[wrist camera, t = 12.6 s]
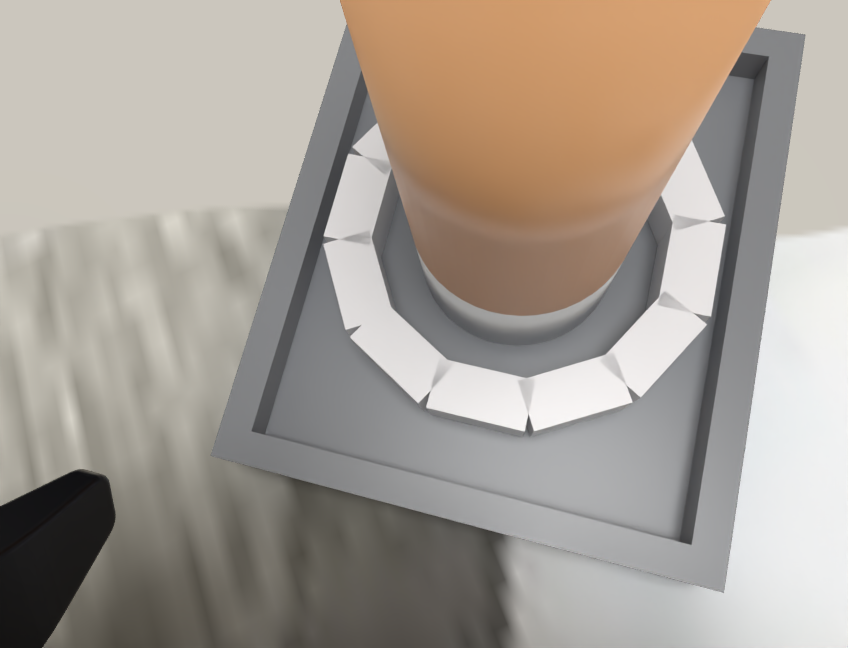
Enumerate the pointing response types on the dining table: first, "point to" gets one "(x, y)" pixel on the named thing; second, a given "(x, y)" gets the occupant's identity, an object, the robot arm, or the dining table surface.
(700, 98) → the peach bulb knob
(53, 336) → the dining table surface
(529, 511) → the housing
